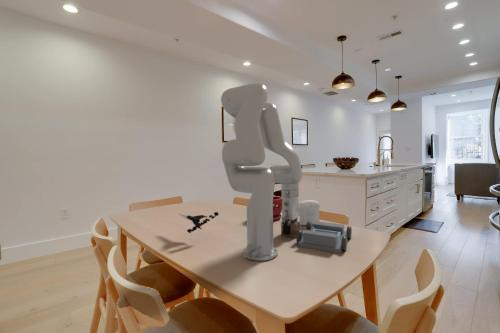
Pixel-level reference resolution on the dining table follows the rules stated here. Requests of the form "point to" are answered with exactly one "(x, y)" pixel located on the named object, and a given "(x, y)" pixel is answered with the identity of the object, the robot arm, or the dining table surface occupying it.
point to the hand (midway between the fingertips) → (290, 231)
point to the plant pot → (278, 209)
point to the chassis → (324, 236)
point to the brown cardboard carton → (291, 229)
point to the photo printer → (309, 212)
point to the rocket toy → (197, 220)
